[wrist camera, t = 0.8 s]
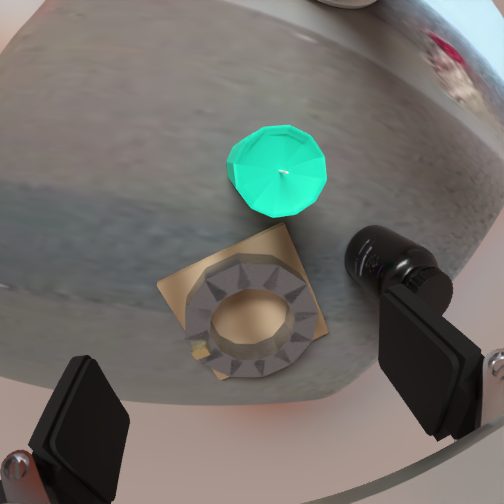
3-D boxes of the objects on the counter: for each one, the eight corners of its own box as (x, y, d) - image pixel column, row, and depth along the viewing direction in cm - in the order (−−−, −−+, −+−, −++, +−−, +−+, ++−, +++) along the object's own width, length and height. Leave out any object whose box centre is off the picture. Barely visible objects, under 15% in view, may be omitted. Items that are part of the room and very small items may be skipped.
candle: (293, 141, 28) (343, 133, 17) (282, 201, 30) (325, 230, 18) (231, 130, 27) (243, 112, 16) (221, 192, 29) (227, 216, 17)
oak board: (282, 221, 30) (284, 223, 29) (326, 328, 35) (329, 332, 34) (158, 281, 31) (156, 285, 30) (219, 375, 35) (220, 380, 34)
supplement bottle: (336, 236, 32) (396, 280, 20) (389, 215, 32) (461, 246, 20) (349, 291, 34) (403, 349, 22) (398, 269, 34) (462, 314, 23)
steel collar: (281, 231, 30) (291, 242, 26) (323, 330, 34) (334, 349, 30) (164, 287, 30) (158, 304, 26) (222, 375, 34) (223, 397, 30)
